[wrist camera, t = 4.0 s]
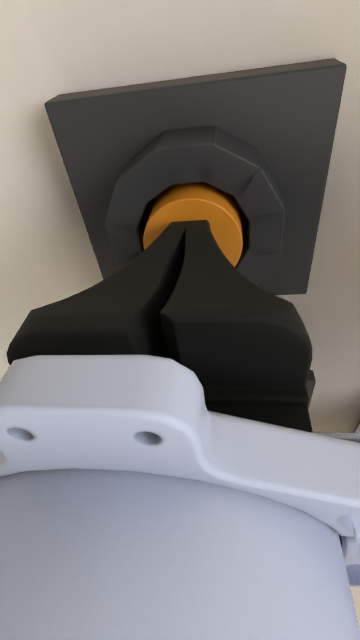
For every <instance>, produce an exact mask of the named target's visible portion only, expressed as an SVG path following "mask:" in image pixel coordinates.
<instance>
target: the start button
mask: <svg viewBox="0 0 360 640" xmlns="http://www.w3.org/2000/svg"><path fill="white" fill-rule="evenodd" d="M195 220H207V221H208V222H209V223H210V229H211V232H212V234H213V237H214V239H215V241H216V242H217V244H218V246H219V248H220V249H221V251H222V252H223V253H224V255H225V256H226V258H227V259H228V260H229V261H230V263H231V264H232V265H233V266H234V267H235V266H236V264H237V262H238V261H239V258H240V256H241V252H242V246H243V240H242V227H241V214H240V208H239V205H238V202H237V201H236V199H235V198H234V196H233V195H230V194H228V193H226V192H224V191H222V190H220V189H218V188H216V187H214V186H212V185H210V184H208V183H205V182H198V183H186V184H174V185H171V186H169V187H168V188H167V189H165V190H164V191H163V192H161V193H160V194H159V195H158V196H157V198H156V200H155V202H154V205H153V208H152V210H151V213H150V216H149V219H148V222H147V225H146V228H145V231H144V237H143V244H144V250H145V249H146V248H147V247H148V246H149V245H150V244H151V243H152V242H153V241H154V240H155V239H156V238H157V237H158V236H159V235H160V234H161V233H162V232H163V231H164V230H165V229H166V228H167V226H168V225H169V224H170V223H171V222H180V221H195Z"/></svg>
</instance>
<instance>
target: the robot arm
mask: <svg viewBox="0 0 360 640" xmlns="http://www.w3.org/2000/svg"><path fill="white" fill-rule="evenodd" d="M7 358H8V363H9V364H10V367H9V368H8V370H7V371H6V373H5V374H4V376H3V378H2V379H1V381H0V640H360V630H359V626H358V621H357V616H356V612H355V607H354V602H353V598H352V593H351V589H350V587H360V423H359V425H358V428H357V430H356V432H355V433H338V432H312V427H311V422H310V417H309V412H308V408H307V405H308V402H309V397H308V393H307V388H306V383H307V379H308V375H309V371H310V366H311V362H312V346H311V342H310V339H309V336H308V333H307V331H306V329H305V326H304V324H303V322H302V320H301V318H300V316H299V314H298V312H297V311H296V309H295V307H294V305H293V304H292V303H291V302H288V301H286V300H284V299H282V298H279V297H277V296H275V295H273V294H270V293H268V292H267V291H265V290H263V289H262V288H260V287H258V286H257V285H255V284H254V283H252V282H251V281H250V280H248V279H247V278H246V277H244V276H243V275H242V274H241V273H240V272H239V271H238V270H237V269H236V268H235V267H234V266H233V265H232V264H231V263H230V261H229V260H228V259H227V258H226V256H225V255H224V253H223V252H222V251H221V249H220V248H219V246H218V244H217V242H216V241H215V239H214V237H213V234H212V232H211V229H210V223H209V222H208V221H207V220H195V221H180V222H171V223H170V224H169V225H168V226H167V228H166V229H165V230H164V231H163V232H162V233H161V234H160V235H159V236H158V237H157V238H156V239H155V240H154V241H153V242H152V243H151V244H150V245H149V246H148V247H147V248H146V249H145V250H144V251H143V252H142V253H141V254H139V255H138V256H137V257H136V258H135V259H134V260H133V261H131V262H130V263H129V264H128V265H126V266H125V267H123V268H122V269H121V270H119V271H118V272H116V273H115V274H113V275H112V276H110V277H108V278H106V279H105V280H103V281H101V282H99V283H98V284H96V285H94V286H92V287H90V288H88V289H86V290H84V291H82V292H80V293H78V294H75V295H73V296H71V297H68V298H66V299H63V300H61V301H58V302H55V303H52V304H49V305H46V306H43V307H40V308H37V309H34V310H31V312H30V313H29V314H28V316H27V318H26V319H25V321H24V322H23V324H22V326H21V327H20V329H19V330H18V332H17V334H16V335H15V337H14V338H13V340H12V342H11V343H10V345H9V348H8V351H7Z"/></svg>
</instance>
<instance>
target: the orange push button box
mask: <svg viewBox="0 0 360 640" xmlns="http://www.w3.org/2000/svg"><path fill="white" fill-rule="evenodd" d="M346 68H347V66H346V64H344V63H342V62H340V61H338V60H336V59H334V58H333V59H326V60H318V61H310V62H303V63H295V64H288V65H280V66H273V67H265V68H258V69H250V70H243V71H235V72H228V73H220V74H212V75H205V76H197V77H190V78H182V79H175V80H167V81H160V82H152V83H145V84H137V85H129V86H122V87H114V88H107V89H99V90H92V91H84V92H77V93H69V94H62V95H58V96H56V97H55V98H53V99H51V100H49V101H47V102H46V103H45V108H46V111H47V114H48V117H49V120H50V123H51V126H52V129H53V132H54V135H55V138H56V141H57V144H58V147H59V149H60V152H61V155H62V158H63V161H64V164H65V167H66V170H67V173H68V176H69V179H70V182H71V185H72V188H73V191H74V194H75V197H76V200H77V202H78V205H79V208H80V211H81V214H82V217H83V220H84V223H85V226H86V229H87V232H88V235H89V238H90V241H91V244H92V247H93V250H94V252H95V255H96V258H97V261H98V264H99V267H100V270H101V273H102V276H103V279H104V280H105V279H106V278H108V277H110V276H112V275H113V274H115V273H116V272H118V271H119V270H121V269H122V268H123V267H125V266H126V265H128V264H129V263H130V262H131V261H133V260H134V259H135V258H136V257H137V256H138V255H139V254H141V253H142V252H143V251H144V244H143V237H144V231H145V228H146V225H147V222H148V219H149V216H150V213H151V210H152V208H153V205H154V202H155V200H156V198H157V196H158V195H159V194H160V193H161V192H163V191H164V190H165V189H167V188H168V187H169V186H171V185H174V184H186V183H198V182H205V183H208V184H210V185H212V186H214V187H216V188H218V189H220V190H222V191H224V192H226V193H228V194H230V195H233V196H234V198H235V199H236V201H237V202H238V205H239V208H240V214H241V227H242V240H243V246H242V252H241V256H240V258H239V261H238V262H237V264H236V266H235V268H236V269H237V270H238V271H239V272H240V273H241V274H242V275H243V276H244V277H246V278H247V279H248V280H250V281H251V282H252V283H254V284H255V285H257V286H258V287H260V288H262V289H263V290H265V291H267V292H268V293H270V294H273V295H286V294H306V292H307V287H308V281H309V275H310V270H311V264H312V259H313V253H314V247H315V242H316V236H317V231H318V225H319V219H320V214H321V208H322V202H323V197H324V191H325V186H326V180H327V174H328V169H329V163H330V157H331V152H332V146H333V141H334V135H335V129H336V124H337V118H338V113H339V107H340V101H341V96H342V90H343V84H344V79H345V73H346Z"/></svg>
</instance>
